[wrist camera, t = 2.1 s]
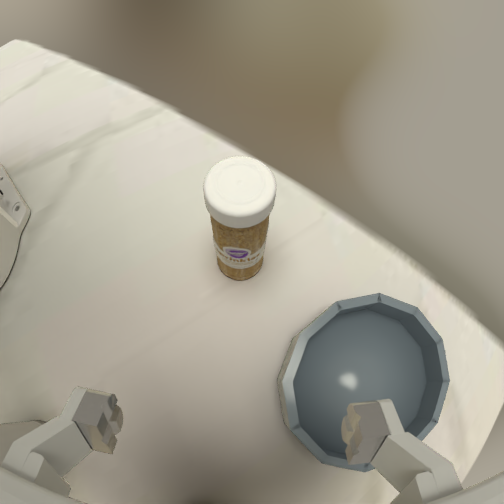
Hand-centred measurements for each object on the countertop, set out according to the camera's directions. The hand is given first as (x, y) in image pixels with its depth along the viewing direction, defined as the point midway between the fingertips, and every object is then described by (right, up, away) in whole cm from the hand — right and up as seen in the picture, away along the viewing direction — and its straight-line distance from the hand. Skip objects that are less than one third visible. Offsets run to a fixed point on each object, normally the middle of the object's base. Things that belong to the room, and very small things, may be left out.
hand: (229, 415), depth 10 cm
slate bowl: (+11, -7, +17) cm, 22 cm away
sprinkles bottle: (0, +5, +22) cm, 23 cm away
